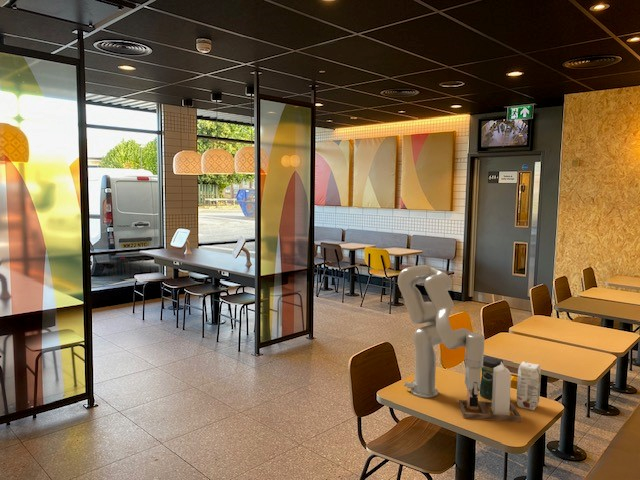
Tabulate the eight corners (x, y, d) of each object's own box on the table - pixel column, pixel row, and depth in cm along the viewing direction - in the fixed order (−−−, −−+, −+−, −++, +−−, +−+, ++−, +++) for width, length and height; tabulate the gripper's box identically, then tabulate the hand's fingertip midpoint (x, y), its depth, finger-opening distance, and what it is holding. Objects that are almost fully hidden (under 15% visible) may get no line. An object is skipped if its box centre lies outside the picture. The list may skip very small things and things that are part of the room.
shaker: (467, 409, 203) (468, 388, 202) (465, 404, 208) (466, 384, 207) (478, 410, 202) (479, 389, 202) (476, 405, 207) (477, 384, 206)
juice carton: (535, 412, 205) (538, 369, 203) (515, 406, 210) (517, 364, 208) (540, 405, 211) (542, 364, 209) (519, 400, 216) (521, 360, 214)
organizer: (463, 418, 199) (463, 413, 199) (458, 404, 212) (458, 399, 212) (521, 422, 196) (521, 417, 196) (512, 407, 209) (512, 403, 209)
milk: (505, 411, 206) (508, 361, 204) (509, 417, 200) (512, 366, 198) (491, 409, 207) (493, 360, 205) (494, 416, 201) (496, 365, 199)
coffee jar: (504, 397, 220) (506, 358, 218) (496, 402, 214) (498, 362, 212) (485, 391, 227) (486, 353, 225) (476, 395, 221) (478, 356, 219)
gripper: (461, 355, 212) (460, 394, 214) (468, 369, 195) (466, 411, 197) (479, 356, 211) (477, 395, 213) (487, 370, 194) (485, 413, 196)
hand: (472, 403), depth 205 cm, fingers closed on shaker, 4 cm apart
